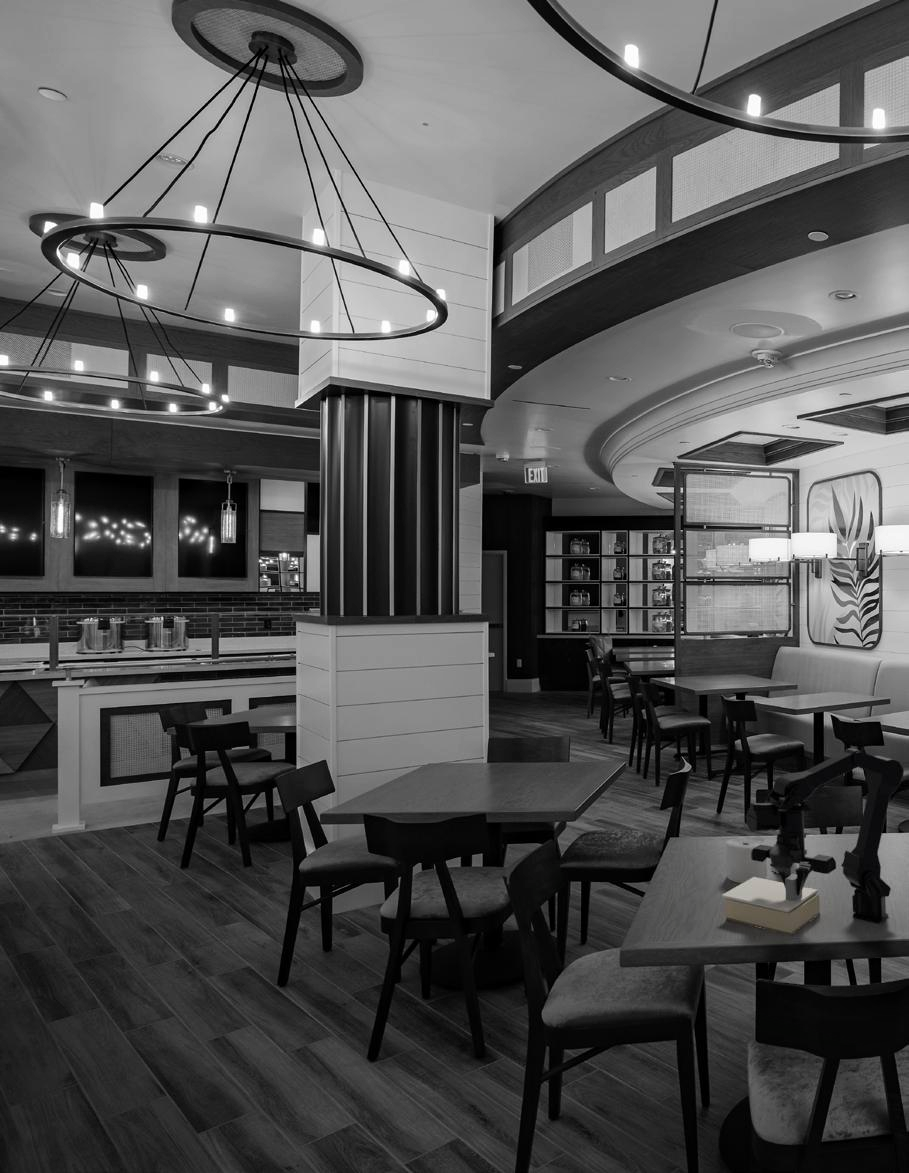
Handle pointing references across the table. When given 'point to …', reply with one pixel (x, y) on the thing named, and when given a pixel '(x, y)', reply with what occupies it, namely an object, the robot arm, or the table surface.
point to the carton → (773, 915)
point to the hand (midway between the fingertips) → (793, 894)
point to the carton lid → (770, 893)
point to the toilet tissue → (744, 860)
